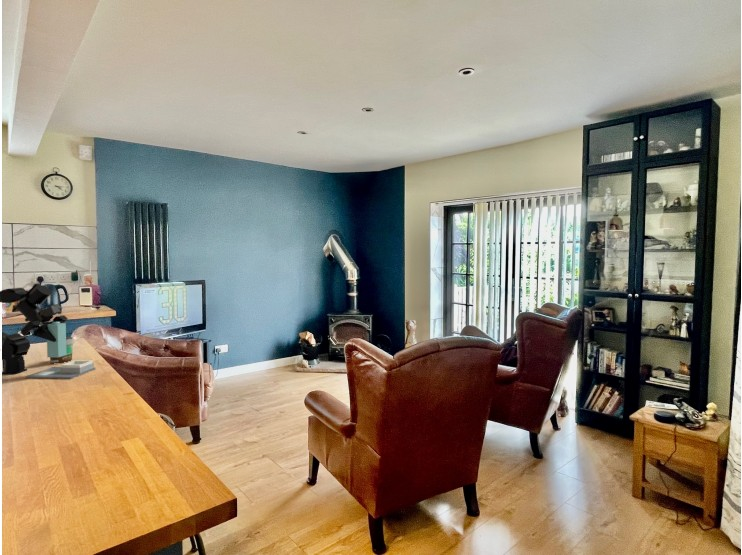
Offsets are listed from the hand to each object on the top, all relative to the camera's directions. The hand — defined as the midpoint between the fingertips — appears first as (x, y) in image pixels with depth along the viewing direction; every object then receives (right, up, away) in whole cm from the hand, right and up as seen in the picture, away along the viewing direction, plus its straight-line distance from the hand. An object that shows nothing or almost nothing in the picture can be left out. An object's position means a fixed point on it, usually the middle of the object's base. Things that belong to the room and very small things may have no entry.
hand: (59, 340), depth 177 cm
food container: (-11, -12, +19) cm, 25 cm away
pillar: (-1, -7, 0) cm, 7 cm away
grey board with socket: (+1, -13, -1) cm, 14 cm away
